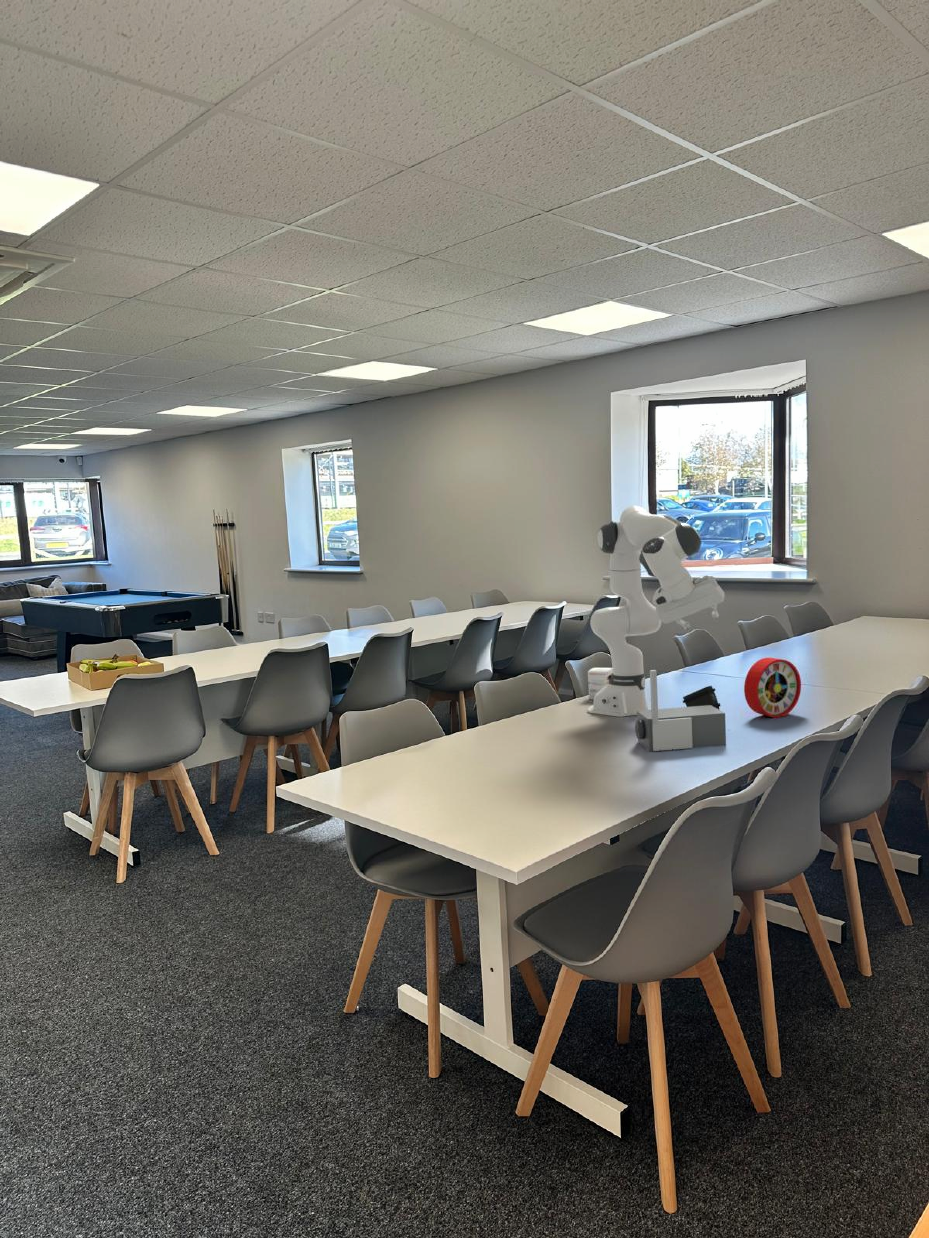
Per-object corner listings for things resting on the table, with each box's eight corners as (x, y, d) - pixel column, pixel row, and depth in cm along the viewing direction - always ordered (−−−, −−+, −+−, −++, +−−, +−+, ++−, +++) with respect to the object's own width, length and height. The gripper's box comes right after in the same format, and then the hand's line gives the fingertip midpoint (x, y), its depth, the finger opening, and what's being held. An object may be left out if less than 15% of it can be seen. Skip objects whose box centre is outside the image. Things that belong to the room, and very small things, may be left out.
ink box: (615, 695, 342) (613, 667, 341) (609, 700, 334) (608, 671, 333) (594, 695, 346) (593, 667, 344) (588, 699, 338) (587, 670, 337)
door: (654, 751, 256) (651, 671, 253) (652, 750, 257) (649, 670, 255) (693, 748, 257) (690, 668, 254) (691, 746, 258) (688, 667, 256)
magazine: (724, 730, 270) (706, 686, 274) (694, 742, 280) (677, 699, 284) (731, 728, 273) (713, 684, 276) (701, 739, 283) (684, 697, 286)
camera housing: (644, 752, 257) (643, 719, 256) (633, 742, 269) (631, 711, 268) (726, 745, 259) (725, 713, 258) (711, 735, 271) (710, 705, 270)
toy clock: (757, 721, 286) (755, 663, 284) (744, 718, 292) (743, 661, 289) (801, 713, 294) (800, 656, 292) (788, 710, 300) (787, 654, 297)
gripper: (712, 567, 247) (735, 604, 251) (650, 593, 258) (673, 628, 262) (710, 578, 242) (733, 616, 246) (647, 604, 253) (670, 639, 257)
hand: (702, 622), depth 254 cm, fingers open, 8 cm apart
